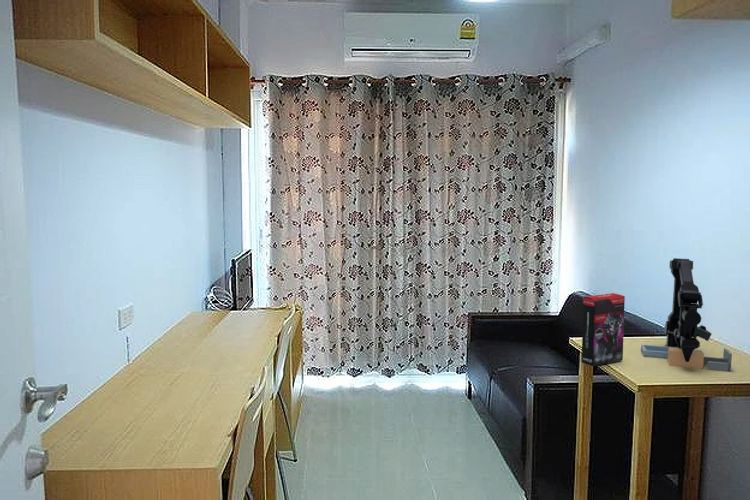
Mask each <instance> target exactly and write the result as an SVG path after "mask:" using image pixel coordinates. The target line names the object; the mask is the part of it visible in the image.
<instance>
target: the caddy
mask: <svg viewBox="0 0 750 500" xmlns="http://www.w3.org/2000/svg"><path fill="white" fill-rule="evenodd" d="M704 357H705V353H704V352H703V350H701V349H695V350H693V352H692V355H691V357H690V360H689V362H686V361H685V358H684V355H683V352H682V349H679V348H668V358H667V359H666V360H667V364H668V363H669V364H668V366H673V367H674V366H675V367H683V368H684V367H685V368H696V369H703V368H704V364H703V360H704Z"/></svg>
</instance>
